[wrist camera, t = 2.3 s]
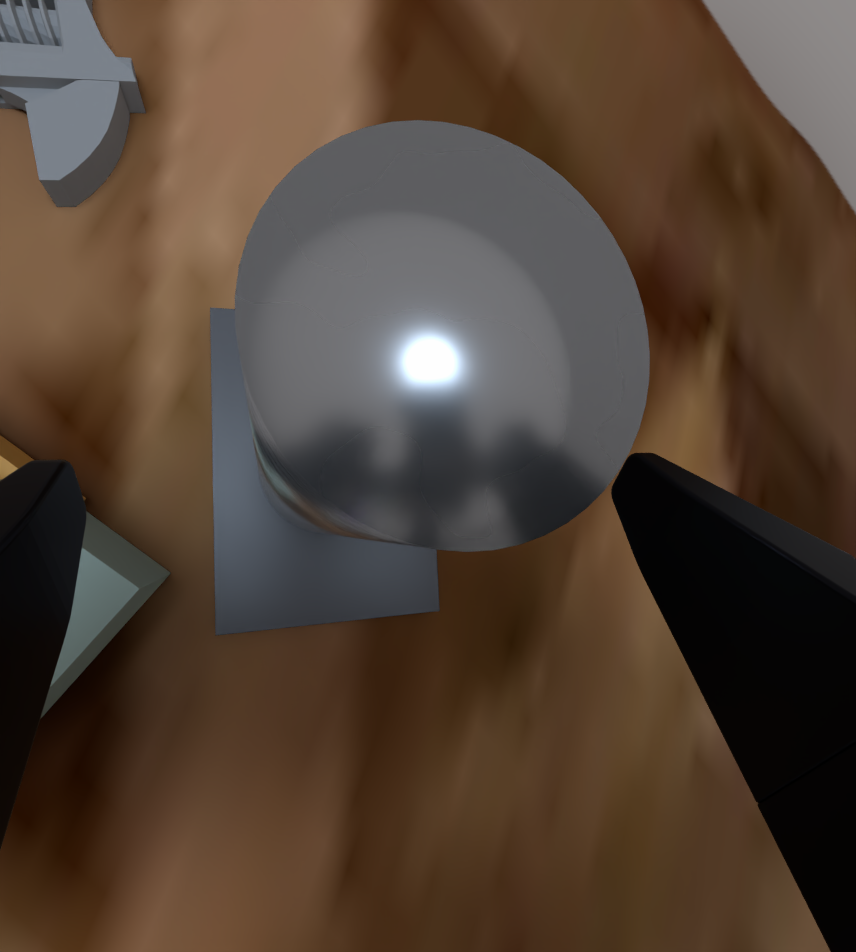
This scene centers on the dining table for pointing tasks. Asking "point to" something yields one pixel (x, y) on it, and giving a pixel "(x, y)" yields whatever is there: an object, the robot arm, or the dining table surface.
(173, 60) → the dining table surface
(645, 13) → the dining table surface
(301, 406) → the metal barrel peg
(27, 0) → the adjustable wrench
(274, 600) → the pad
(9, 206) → the dining table surface
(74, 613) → the socket block
